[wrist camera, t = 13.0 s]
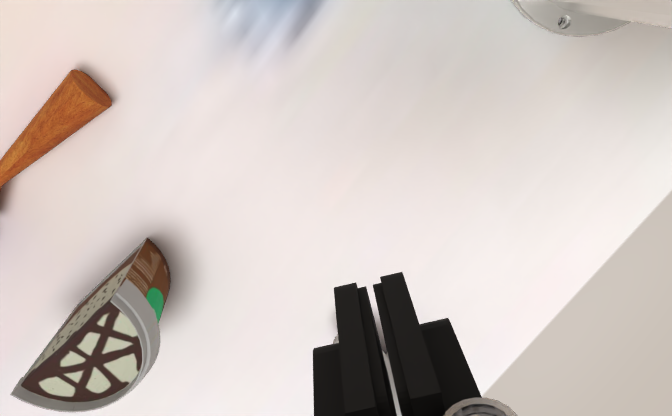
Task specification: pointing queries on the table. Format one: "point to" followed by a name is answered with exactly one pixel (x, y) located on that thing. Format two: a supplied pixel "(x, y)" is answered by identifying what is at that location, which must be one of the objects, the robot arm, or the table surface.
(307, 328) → the table surface
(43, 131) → the kendama
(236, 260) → the table surface
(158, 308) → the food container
